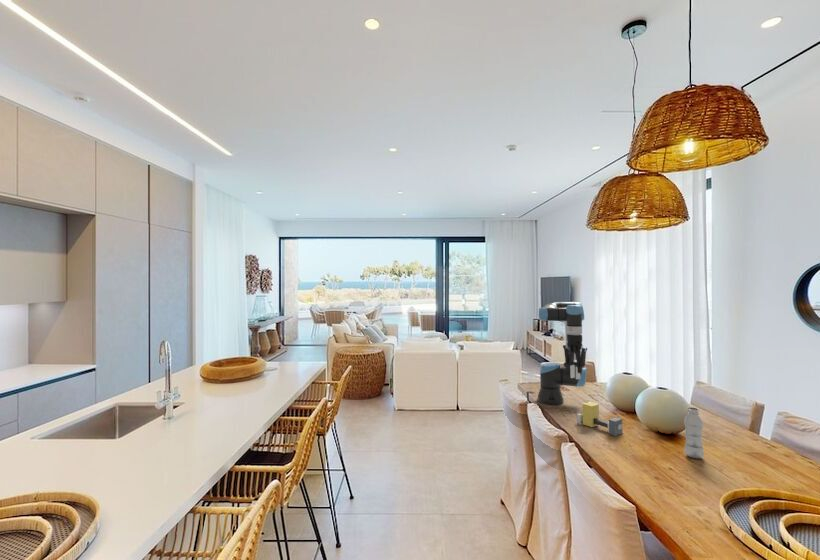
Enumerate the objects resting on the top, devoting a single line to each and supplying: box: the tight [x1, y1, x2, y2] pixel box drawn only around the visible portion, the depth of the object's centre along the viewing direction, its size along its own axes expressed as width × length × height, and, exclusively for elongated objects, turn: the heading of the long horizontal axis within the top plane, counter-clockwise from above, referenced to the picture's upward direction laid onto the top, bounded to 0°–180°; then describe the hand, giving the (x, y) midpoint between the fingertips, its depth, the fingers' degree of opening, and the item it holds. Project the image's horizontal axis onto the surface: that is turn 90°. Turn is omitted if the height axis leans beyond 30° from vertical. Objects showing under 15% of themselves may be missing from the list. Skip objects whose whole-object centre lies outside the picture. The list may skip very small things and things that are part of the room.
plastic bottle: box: [683, 407, 705, 459], centre depth 158 cm, size 6×7×20 cm
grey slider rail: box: [576, 413, 623, 437], centre depth 190 cm, size 7×21×7 cm, turn 31°
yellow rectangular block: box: [582, 401, 600, 428], centre depth 194 cm, size 6×5×10 cm
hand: (575, 378), depth 202 cm, fingers open, 3 cm apart
